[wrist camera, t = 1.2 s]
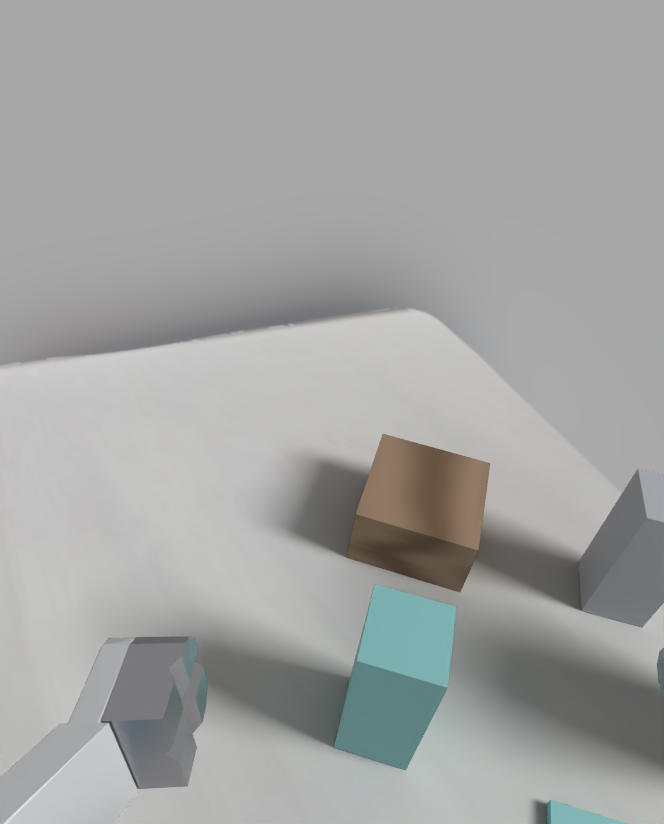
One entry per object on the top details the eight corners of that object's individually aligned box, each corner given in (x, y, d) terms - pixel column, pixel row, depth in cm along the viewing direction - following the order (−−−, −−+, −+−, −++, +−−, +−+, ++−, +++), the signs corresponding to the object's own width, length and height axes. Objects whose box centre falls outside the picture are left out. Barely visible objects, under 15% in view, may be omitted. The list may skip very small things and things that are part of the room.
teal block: (333, 747, 33) (357, 661, 26) (350, 677, 36) (374, 584, 29) (405, 770, 33) (447, 687, 26) (416, 697, 36) (456, 606, 29)
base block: (346, 559, 42) (355, 514, 39) (372, 479, 48) (382, 433, 45) (459, 594, 41) (478, 550, 38) (472, 507, 47) (490, 463, 44)
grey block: (581, 610, 41) (646, 517, 34) (578, 562, 44) (638, 468, 37) (642, 627, 41) (720, 536, 34) (634, 577, 44) (705, 484, 37)
